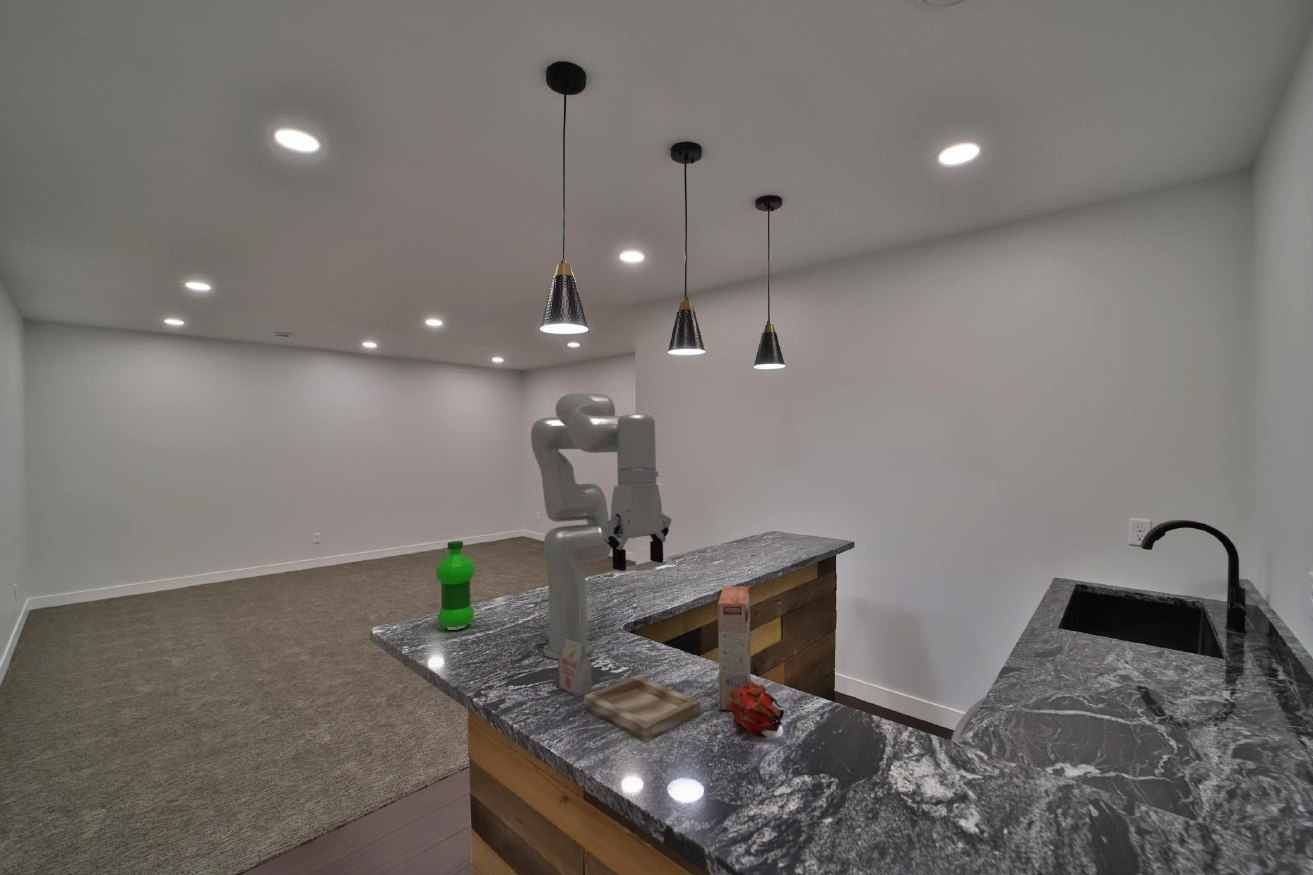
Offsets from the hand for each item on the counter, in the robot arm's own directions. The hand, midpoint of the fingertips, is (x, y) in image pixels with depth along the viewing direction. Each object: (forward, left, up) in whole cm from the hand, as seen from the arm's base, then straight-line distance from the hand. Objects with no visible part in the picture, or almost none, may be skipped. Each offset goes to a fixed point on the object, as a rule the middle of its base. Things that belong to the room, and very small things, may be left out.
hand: (638, 565), depth 108 cm
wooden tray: (0, 0, -28) cm, 28 cm away
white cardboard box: (-18, -3, -28) cm, 34 cm away
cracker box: (+9, +18, -28) cm, 35 cm away
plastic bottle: (-78, -3, -28) cm, 83 cm away
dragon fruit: (+20, +10, -28) cm, 36 cm away
